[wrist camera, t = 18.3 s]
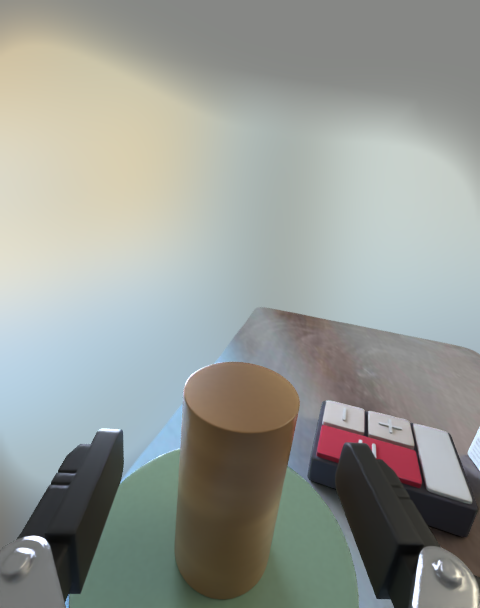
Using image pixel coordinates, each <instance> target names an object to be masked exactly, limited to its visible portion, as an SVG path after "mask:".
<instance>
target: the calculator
mask: <svg viewBox="0 0 480 608" xmlns="http://www.w3.org/2000/svg"><path fill="white" fill-rule="evenodd" d="M345 442H353V443H366V444H368V445H369V447H370V449H371V450H372V452H373V454H374V456H375V457H376V459H382V460H383V461H384V462H385V463H386V464H387V465H388V466H389V467H391V468H392V469H393V470H394V471H395V473H396V474H397V476H398V478H399V479H400V481H401V483H402V484H403V488H405V489H406V491H407V493H408V494H409V496H410V500H412V501H413V503H414V504H415V506H416V508H417V509H418V511H419V512H420V514H421V516H422V517H423V519H424V521H425V522H426V524H427V525H429V526H432V527H435V528H438V529H441V530H443V531H446V532H449V533H452V534H455V535H458V536H461V537H467V536H468V534H469V532H470V529H471V527H472V524H473V522H474V519H475V517H476V514H477V512H478V506H477V504H476V501H475V498H474V496H473V493H472V490H471V488H470V485H469V482H468V480H467V477H466V474H465V472H464V469H463V466H462V464H461V461H460V458H459V456H458V453H457V450H456V448H455V445H454V442H453V440H452V437H451V435H450V434H449V433H447V432H446V431H443V430H439V429H435V428H431V427H427V426H423V425H419V424H413V423H410V422H409V421H408V420H405V419H401V418H397V417H393V416H389V415H385V414H381V413H377V412H373V411H369V412H366V411H364V409H361V408H358V407H354V406H350V405H346V404H342V403H338V402H334V401H330V400H327V401H323V402H322V406H321V411H320V415H319V420H318V425H317V429H316V434H315V439H314V443H313V448H312V453H311V458H310V464H309V470H308V478H309V480H311V481H314V482H317V483H320V484H323V485H326V486H329V487H332V488H335V489H336V485H335V474H336V470H337V466H338V462H339V459H340V455H341V451H342V448H343V445H344V443H345Z"/></svg>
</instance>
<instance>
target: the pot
mask: <svg viewBox="0 0 480 608" xmlns="http://www.w3.org/2000/svg"><path fill="white" fill-rule="evenodd" d="M179 460H180V449H177V450H174V451H171V452H169V453H166V454H163V455H161V456H159V457H157V458H155V459H153V460H151V461H150V462H148V463H146V464H145V465H143V466H142V467H140V468H138V469H137V470H136V471H135V472H133V473H132V474H131V475H130V476H128V477H127V478H126V479H125V480H124V481H123V482H122V483H121V484H120V485H119V487H118V490H117V493H116V496H115V498H114V501H113V504H112V507H111V510H110V512H109V515H108V518H107V521H106V524H105V527H104V529H103V532H102V535H101V538H100V541H99V543H98V546H97V549H96V552H95V555H94V557H93V560H92V563H91V566H90V569H89V572H88V574H87V577H86V580H85V583H84V586H83V588H82V591H81V594H69V608H359V595H358V587H357V580H356V573H355V569H354V565H353V561H352V557H351V553H350V550H349V548H348V545H347V542H346V539H345V537H344V535H343V532H342V530H341V528H340V526H339V524H338V522H337V520H336V519H335V517H334V515H333V514H332V512H331V510H330V509H329V507H328V506H327V504H326V503H325V502H324V501H323V499H322V498H321V497H320V495H319V494H318V493H317V492H316V491H315V490H314V489H313V488H312V486H311V485H310V484H309V483H308V482H307V481H305V480H304V479H303V478H302V477H301V476H300V475H299V474H298V473H296V472H295V471H293V470H292V469H291V468H289V467H288V466H287V470H286V475H285V480H284V485H283V490H282V494H281V499H280V504H279V509H278V514H277V519H276V524H275V529H274V534H273V538H272V543H271V548H270V553H269V558H268V562H267V566H266V569H265V571H264V573H263V575H262V577H261V579H260V580H259V581H258V583H257V584H256V585H255V586H254V587H253V588H252V589H251V590H249V591H248V592H246V593H245V594H243V595H241V596H238V597H235V598H232V599H213V598H209V597H206V596H204V595H202V594H200V593H198V592H197V591H196V590H194V589H193V588H192V587H191V586H190V585H189V584H188V583H187V582H186V581H185V579H184V578H183V576H182V575H181V573H180V571H179V568H178V566H177V563H176V559H175V531H176V513H177V495H178V478H179Z"/></svg>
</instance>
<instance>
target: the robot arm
mask: <svg viewBox="0 0 480 608" xmlns="http://www.w3.org/2000/svg"><path fill="white" fill-rule="evenodd" d="M123 459H124V457H123V431H122V430H118V429H99V430H98V431H97V433H96V435H95V437H94V439H93V441H92V443H91V444H80V445H79V446H77V447H76V448H75V449H74V450H73V451H72V452H71V453H69V454H68V455H67V456H66V458H65V460H64V461H63V463H62V465H61V466H60V468H59V470H58V473H56V475H55V476H54V478H53V480H52V482H51V485H49V487H48V488H47V490H46V492H45V493H44V495H43V497H42V499H41V500H40V502H39V504H38V505H37V507H36V509H35V510H34V512H33V514H32V515H31V517H30V519H29V521H28V522H27V524H26V525H25V527H24V529H23V531H22V532H21V534H20V535H19V537H18V538H17V539H16V540H15V541H13V542H11V543H9V544H7V545H6V546H5V547H3V548H2V549H1V550H0V608H66V606H65V601H66V598H67V596H68V594H81V591H82V588H83V586H84V583H85V580H86V577H87V574H88V572H89V569H90V566H91V563H92V560H93V557H94V555H95V552H96V549H97V546H98V543H99V541H100V538H101V535H102V532H103V529H104V527H105V524H106V521H107V518H108V515H109V512H110V510H111V507H112V504H113V501H114V498H115V496H116V493H117V490H118V487H119V484H120V481H121V477H122V472H123V464H124V460H123ZM335 485H336V490H337V493H338V496H339V499H340V502H341V504H342V507H343V510H344V512H345V515H346V518H347V520H348V523H349V526H350V528H351V531H352V534H353V536H354V539H355V542H356V544H357V547H358V550H359V552H360V555H361V558H362V560H363V563H364V566H365V568H366V571H367V574H368V577H369V579H370V582H371V585H372V587H373V590H374V593H375V595H376V598H377V599H391V601H392V603H393V606H394V608H480V577H477V576H475V575H473V574H472V572H471V571H470V570H469V569H468V567H467V566H466V565H465V564H464V563H463V562H462V561H461V560H460V559H459V558H458V557H456V556H455V555H454V554H452V553H450V552H449V551H447V550H445V549H443V548H441V547H440V545H439V544H438V542H437V541H436V539H435V537H434V536H433V534H432V532H431V531H430V529H429V527H428V526H427V524H426V522H425V521H424V519H423V517H422V516H421V514H420V512H419V511H418V509H417V508H416V506H415V504H414V503H413V501H412V500H410V496H409V494H408V493H407V491H406V489H405V488H403V484H402V483H401V481H400V479H399V478H398V476H397V474H396V473H395V471H394V470H393V469H392V468H391V467H389V466H388V465H387V464H386V463H385V462H384V461H383V460H382V459H376V457H375V456H374V454H373V452H372V450H371V449H370V447H369V445H368V444H366V443H353V442H345V443H344V445H343V448H342V451H341V455H340V459H339V462H338V466H337V470H336V474H335Z"/></svg>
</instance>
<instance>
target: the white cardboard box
mask: <svg viewBox="0 0 480 608" xmlns="http://www.w3.org/2000/svg"><path fill="white" fill-rule="evenodd" d="M468 455H469V457H470V458H471V459H472V461H473V462H474V464H475V465H476V466H477V468H478V469H479V471H480V427H479V430H478V432H477V434H476V436H475V438H474V440H473V442H472V444H471V447H470V449H469V451H468Z"/></svg>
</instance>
